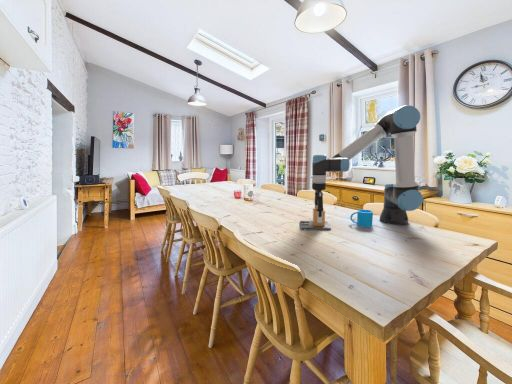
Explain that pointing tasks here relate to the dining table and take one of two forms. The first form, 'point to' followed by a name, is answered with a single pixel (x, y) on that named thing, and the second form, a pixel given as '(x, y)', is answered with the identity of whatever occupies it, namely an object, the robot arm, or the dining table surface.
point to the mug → (363, 218)
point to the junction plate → (309, 226)
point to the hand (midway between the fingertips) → (318, 219)
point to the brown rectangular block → (316, 217)
